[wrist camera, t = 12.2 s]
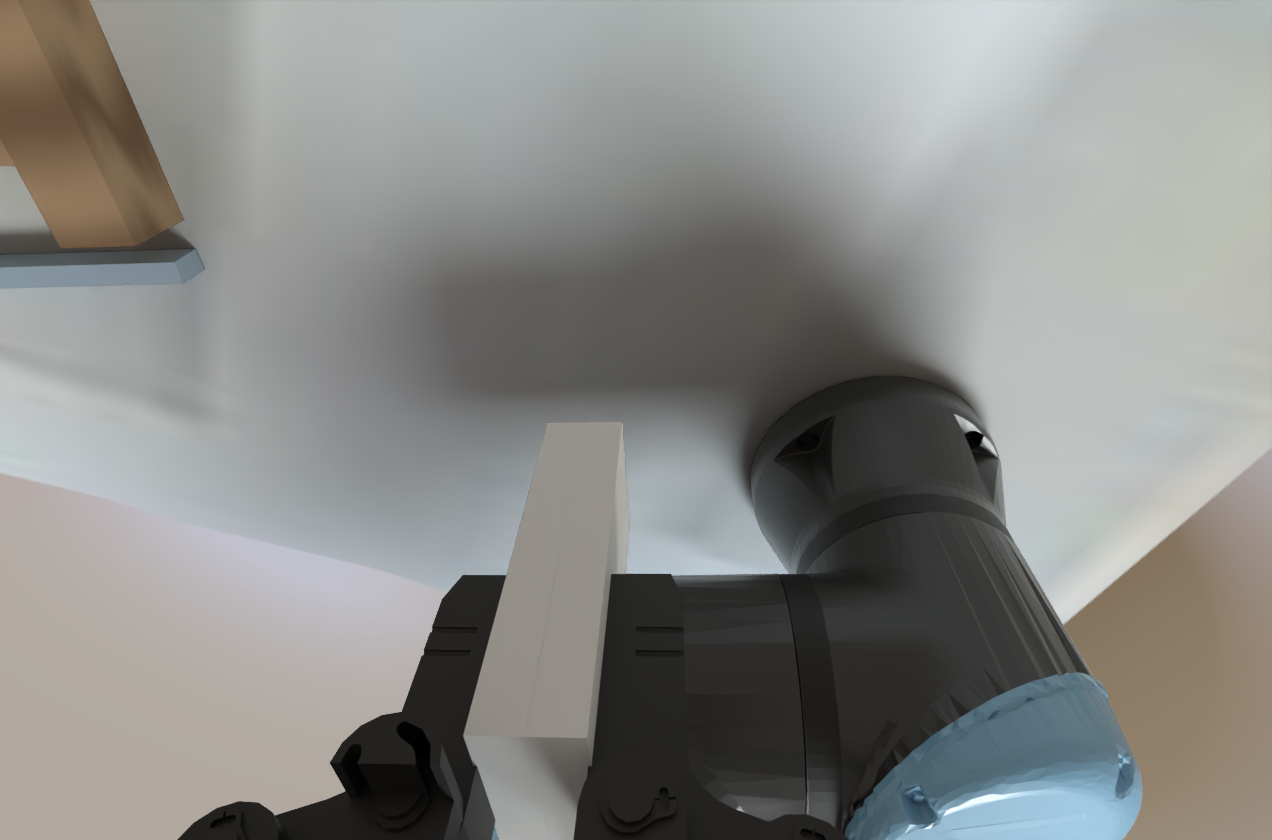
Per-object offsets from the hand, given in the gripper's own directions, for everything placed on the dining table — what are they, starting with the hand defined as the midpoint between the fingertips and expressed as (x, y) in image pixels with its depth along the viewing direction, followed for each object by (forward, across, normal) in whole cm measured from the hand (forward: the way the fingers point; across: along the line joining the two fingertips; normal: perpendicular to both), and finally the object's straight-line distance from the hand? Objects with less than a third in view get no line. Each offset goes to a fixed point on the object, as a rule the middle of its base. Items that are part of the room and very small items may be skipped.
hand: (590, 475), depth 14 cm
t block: (+25, +31, -4) cm, 40 cm away
